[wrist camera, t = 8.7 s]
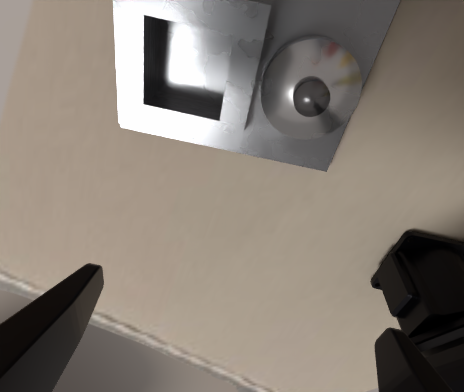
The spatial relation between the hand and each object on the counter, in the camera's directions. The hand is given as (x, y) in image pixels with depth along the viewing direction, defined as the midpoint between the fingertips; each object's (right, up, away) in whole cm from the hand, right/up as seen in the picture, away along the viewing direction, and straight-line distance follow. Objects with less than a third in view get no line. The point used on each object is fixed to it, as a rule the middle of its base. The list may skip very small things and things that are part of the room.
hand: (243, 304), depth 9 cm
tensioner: (0, +11, +8) cm, 14 cm away
